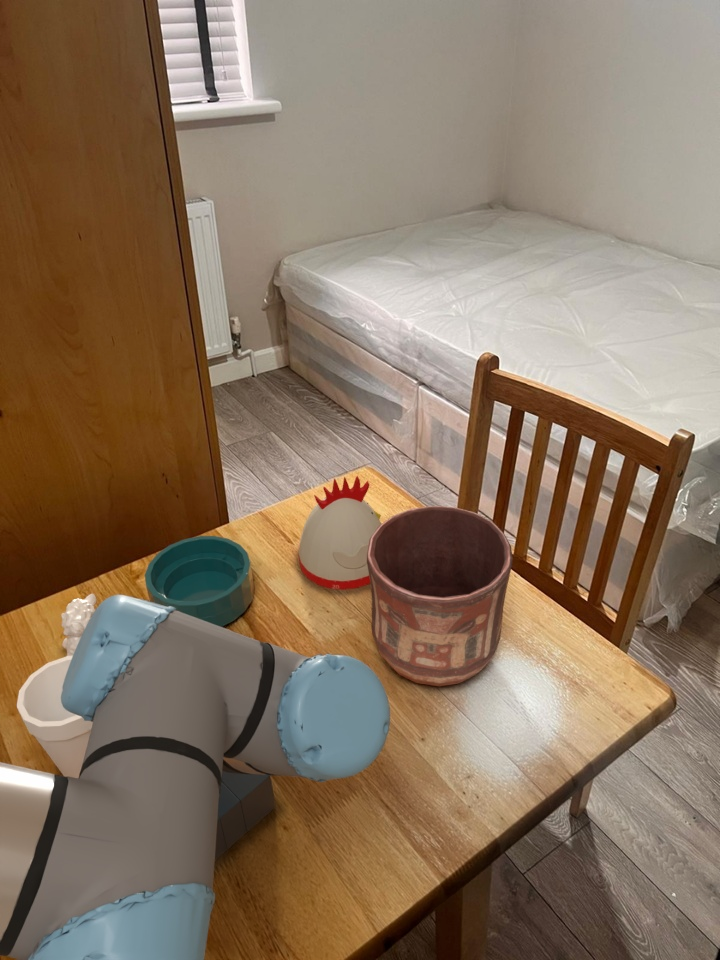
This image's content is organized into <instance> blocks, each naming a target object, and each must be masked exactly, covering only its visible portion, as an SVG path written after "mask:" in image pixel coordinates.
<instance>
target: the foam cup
mask: <svg viewBox="0 0 720 960" xmlns="http://www.w3.org/2000/svg"><path fill="white" fill-rule="evenodd" d="M72 657H73V656H67V655H65V656H64V657H61V658H57V659H54V660H51V661H49V662H47V663H45V664H44V665H42V666H41V667H40V668H38V669H37V670H36V671H34V672H33V673H31V674H30V675H29V676H28V678H27V679H26V681H25V682H24V683H23V684H22V686H21V688H20V689H19V690H18V694H17V695H18V696H17V700H16V701H17V702H16V708H17V711H18V713H19V716H20V718H21V720H22V722H23V724H24V725H25V727H26V729H27V731H28V733H29V734H30V735H32V736H34V738H35V739H36V740H37V742H38V743H39V744H40V746H41V747H42V748H43V750H44V752H45V753H46V754H47V755H48V756H49V758H50V760H51V761H52V763H53V764H54V765H55V766H56V768H57V769H58V770H59V772H60V773H61V775H62V776H65V777H67V776H69V777H73V778H79V774H80V771H81V767H82V764H83V760H84V756H85V752H86V748H87V744H88V740H89V737H90V733H91V729H92V724H93V722H91V721H85V720H84V719H83V717H81V716H78V715H76V714H73V713H71V712H69V711H67V710H66V709H65V708H64V707H63V705H62V703H61V694H62V690H63V689H62V687H63V683H64V679H65V676H66V673H67V670H68V668H69V665H70V662H71V660H72Z"/></svg>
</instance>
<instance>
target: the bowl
mask: <svg viewBox="0 0 720 960" xmlns="http://www.w3.org/2000/svg"><path fill="white" fill-rule="evenodd" d="M144 580H145V587H146V591H147V595H148V599H149V601H150V602H153V603H156V604H159V605H163V606H166V607H169V606H172V607H174V608H176V609H175V610H176V611H179V612H182V613H184V614H187V615H190V616H193V617H195V618H198V619H201V620H203V621H206V622H209V623H212V624H214V625H217V626H220V627H222V628H223V627H224V626H226V625H228V624H230V623H232V622H234V621H235V620H236V619H238V618H239V617H240V616H241V615H243V614H244V613H245V612H246V611H247V609H248V607H249V605H251V603H252V601H253V598H254V593H255V592H254V591H255V585H254V578H253V571H252V565H251V559H250V556H249V553H248V552H247V550H246V549H245V548H244V547H243V546H242V545H241V544H239V543H237V542H236V541H234V540H232V539H231V538H226V537H223V536H216V535H197V536H194V537H189V538H184V539H181V540H179V541H176V542H175V543H172V544H169V545H168V546H166V547H165V548H163V549H161V551H159V552H157V554H156V555H155V556H154V557H153V558H152V559H151V560H150V562H149V563H148V565H147V568H146V570H145V573H144Z"/></svg>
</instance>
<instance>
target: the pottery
mask: <svg viewBox="0 0 720 960" xmlns="http://www.w3.org/2000/svg"><path fill="white" fill-rule="evenodd" d="M513 560H514V557H513V550H512V545H511V543H510V542H509V540H508V538H507V536H506V534H505V532H503V531H502V529H501V528H500V527H499V526H498V525H497V524H496V523H495V522H494V521H492V520H491V519H488V518H486V517H485V516H483V515H481V514H479V513H477V512H474V511H471V510H466V509H464V508H463V509H462V508H458V507H453V506H442V505H441V506H440V505H429V506H422V507H421V506H420V507H415V508H410V509H407V510H404V511H402V512H400V513H396V514H394V515H391V516H390V517H389V518H388V519H386V520H384V521H383V522H382V523H381V525H379V527H378V528H377V529H376V531H375V532H374V534H373V535H372V536H371V538H370V539H369V545H368V552H367V566H368V571H369V577H370V583H369V584H370V594H371V595H370V596H371V616H370V617H371V619H370V620H371V621H370V627H371V635H372V637H373V639H374V642H375V645H376V648H377V650H378V653H379V655H380V656H381V657H382V658H383V660H385V662H386V663H387V664H388V665H389V666H390V667H391V668H392V669H393V670H394V671H395V672H396V673H397V674H398V675H399V676H401V677H403V678H405V679H407V680H409V681H412V682H413V683H415V684H421V685H427V686H428V685H429V686H435V687H444V686H451V685H457V684H461V683H463V682H464V681H466V680H468V679H470V678H472V677H474V676H476V675H477V674H478V673H480V672H481V671H482V670H483V669H484V668H485V667H486V666H487V665H488V664H489V662H490V661H492V659H493V658H494V656H495V654H496V651H497V648H498V646H499V643H500V640H501V635H502V629H503V613H504V605H505V600H506V596H507V595H506V594H507V589H508V584H509V580H510V576H511V571H512V566H513V562H514V561H513Z"/></svg>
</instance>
